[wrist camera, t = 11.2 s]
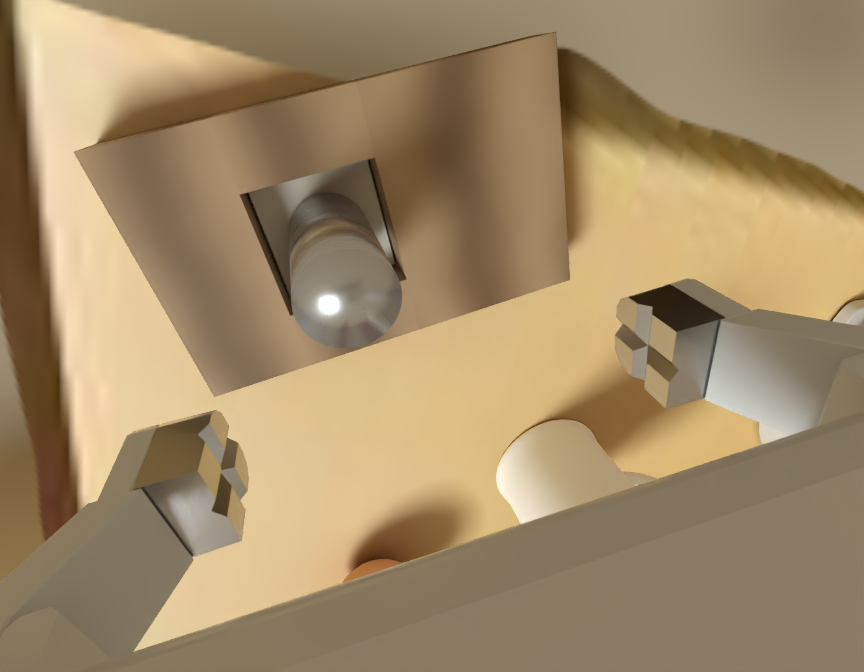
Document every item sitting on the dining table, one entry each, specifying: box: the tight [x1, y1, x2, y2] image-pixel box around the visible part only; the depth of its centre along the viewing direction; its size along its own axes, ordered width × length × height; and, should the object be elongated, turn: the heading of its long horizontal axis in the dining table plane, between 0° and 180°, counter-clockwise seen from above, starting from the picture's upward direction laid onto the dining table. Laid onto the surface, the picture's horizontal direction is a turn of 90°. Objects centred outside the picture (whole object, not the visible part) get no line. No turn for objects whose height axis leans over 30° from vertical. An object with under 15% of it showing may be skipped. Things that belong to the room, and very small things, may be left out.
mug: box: [496, 419, 657, 524], centre depth 33 cm, size 12×8×12 cm
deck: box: [74, 32, 570, 397], centre depth 23 cm, size 20×12×2 cm, turn 102°
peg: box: [289, 193, 402, 348], centre depth 21 cm, size 4×4×8 cm
